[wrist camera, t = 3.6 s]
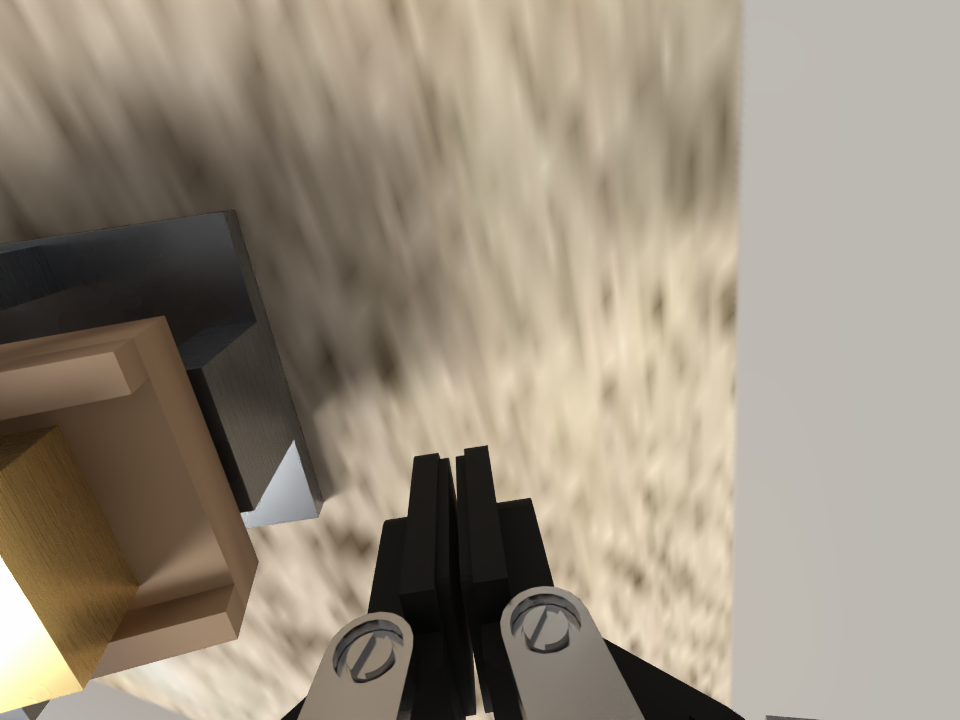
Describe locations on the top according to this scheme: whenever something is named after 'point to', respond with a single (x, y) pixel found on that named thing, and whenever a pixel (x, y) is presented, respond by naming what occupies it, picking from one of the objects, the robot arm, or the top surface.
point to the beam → (142, 479)
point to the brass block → (53, 572)
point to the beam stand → (178, 341)
